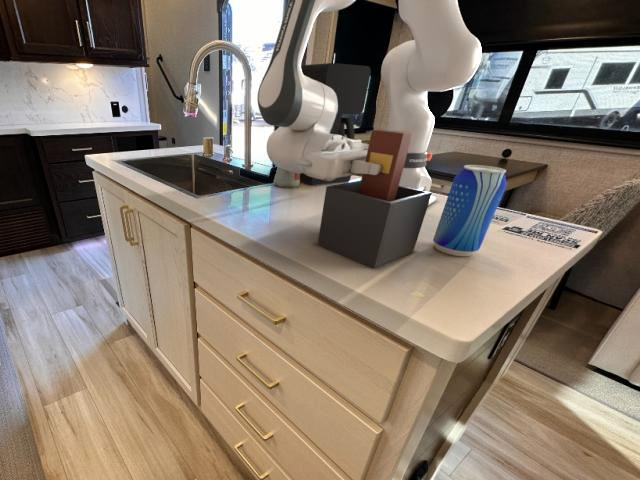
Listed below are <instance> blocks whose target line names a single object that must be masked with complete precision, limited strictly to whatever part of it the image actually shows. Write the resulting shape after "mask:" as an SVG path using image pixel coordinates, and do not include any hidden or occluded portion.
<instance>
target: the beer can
mask: <svg viewBox="0 0 640 480" xmlns="http://www.w3.org/2000/svg"><path fill="white" fill-rule="evenodd" d="M506 173H507V170H506V169H505V168H502V167H498V166H493V165H492V166H491V165H483V164H482V165H481V164H465V165H463V169H462V170H461V171H459V173H458V174H457V175H455V176H454V178H453V179H452V183H451V186H450V189H449V192H448V195H447V198H446V202H445V204H444V207H443V209H442V213H441V216H440V219H439V221H438V223H437V227H436V230H435V232H434V235H433V238H432V241H433V244H434V247H435V249H436V250H437V251H438V252H441V253H444V254H447V255H449V256H454V257H470V256H472V255H474V253H476V252H477V251H479V250H480V248H481V246H482V245H483V242H484V239H485V237H486V235H487V232H488V230H489V228H490V225H491V223H492V221H493V218H494V216H495V213H496V211H497V209H498V206H499V204H500V202H501V200H502V197H503V195H504V192H505V190H506V188H507V185H508V183H507V179H506Z"/></svg>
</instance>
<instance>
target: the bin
mask: <svg viewBox="0 0 640 480" xmlns="http://www.w3.org/2000/svg"><path fill="white" fill-rule="evenodd" d="M361 180H362V179H360V180H359V181H354V182H349V181H347V182H342V183H338V184H333V185H326V187H325V194H324V200H323V206H322V214H321V218H320V219H321V220H320V226H319V233H318V237H317V238H318V239H317V245H318V246H319V247H322V248H325V249H327V250H330V251H332V252H334V253H337V254H338V255H341V256H344V257H346V258H348V259H351V260H353V261H356V262H358V263H360V264H363V265H365V266H368V267H370V268H372V269H376V268H379V267H380V266H383V265H386V264H388V263H390V262H392V261H394V260H397V259H400V258H402V257H405V256H407V255H409V254H411V253H414V251H415V248H416V245H417V242H418V238H419V235H420V232H421V229H422V226H423V222H424V219H425V216H426V213H427V211H428V207H429V205H428V204H429V201H430V198H431V196H433V195H432V194H433V192H432V191H429V192H427V191H423V190H418V189H413V188H409V187H404V186H400V185H399V186H398V190H397V194H396V198H395V200H394V201H390V202H389V201H385V200H381V199H377V198H373V197H370V196H366V195H362V194H359V189H360V185H361Z"/></svg>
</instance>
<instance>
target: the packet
mask: <svg viewBox="0 0 640 480" xmlns="http://www.w3.org/2000/svg"><path fill="white" fill-rule="evenodd" d="M412 134H413V133H412V132H402V131H392V130H387V129H384V128H383V129H372V130H371V132H370V137H369V142H368V144H369V146H368V151H367V156H366V161H365V162H370V163H379V164H382V165H383V169H382V173H381V174H379V175H371V174H361V175H362V176H361V179H360V180H361V185H360V189H359V194H362V195H366V196H370V197H373V198H377V199H381V200H385V201H389V202H390V201H394V200H395V198H396V194H397V190H398V186H399V183H400V179H401V175H402V171H403V168H404V164H405V160H406V156H407V153H408V149H409V145H410V141H411V138H412Z"/></svg>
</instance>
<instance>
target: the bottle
mask: <svg viewBox="0 0 640 480" xmlns="http://www.w3.org/2000/svg"><path fill="white" fill-rule="evenodd" d="M300 183H301V182H300V173H293V172H290V171H286V170H284V169H281V168H279V167H277V170H276V174H275V173H274V179H273V184H274V185H276V186H278V187H281V188H283V189H284V188H287V189H294V188H298V187H299V185H300Z"/></svg>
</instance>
